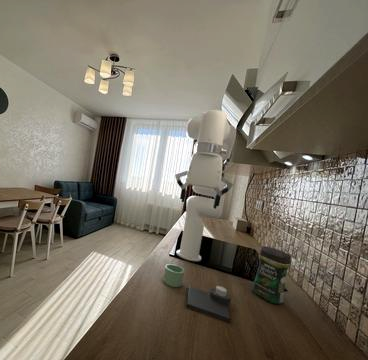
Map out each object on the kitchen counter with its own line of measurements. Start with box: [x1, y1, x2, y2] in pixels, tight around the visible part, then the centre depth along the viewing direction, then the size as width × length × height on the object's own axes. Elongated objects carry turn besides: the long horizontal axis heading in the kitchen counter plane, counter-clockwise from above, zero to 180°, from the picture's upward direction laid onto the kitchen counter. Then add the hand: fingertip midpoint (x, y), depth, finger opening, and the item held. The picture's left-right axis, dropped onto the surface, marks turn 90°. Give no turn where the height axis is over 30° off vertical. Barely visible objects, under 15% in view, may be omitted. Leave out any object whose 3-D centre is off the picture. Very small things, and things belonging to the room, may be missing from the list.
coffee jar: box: [251, 245, 292, 305], centre depth 80 cm, size 10×8×19 cm
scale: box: [186, 285, 232, 323], centre depth 69 cm, size 13×13×3 cm
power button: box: [215, 285, 228, 297], centre depth 71 cm, size 3×3×2 cm
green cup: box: [162, 263, 186, 288], centre depth 79 cm, size 7×7×6 cm
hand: (198, 204), depth 68 cm, fingers open, 9 cm apart
